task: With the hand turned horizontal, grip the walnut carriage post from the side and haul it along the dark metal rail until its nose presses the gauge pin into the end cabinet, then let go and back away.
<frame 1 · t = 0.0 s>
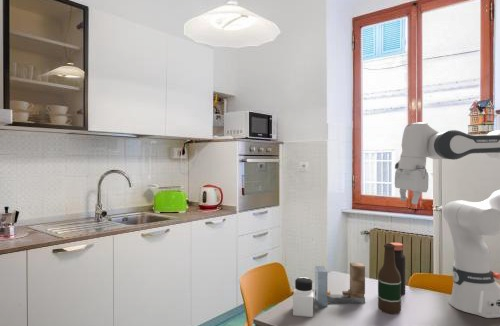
hand: (408, 202, 126), 39 cm above the table, tool pointing down, fingers open, 8 cm apart
rail and cabinet: (344, 301, 131), on the table
carriage: (353, 279, 131), point 8 cm above the table, slide at -5.0 cm
gauge pin: (323, 293, 131), point 3 cm above the table, slide at 0.0 cm
beer bottle: (389, 310, 123), on the table
medicine bottle: (303, 312, 121), on the table
vinegar: (396, 292, 140), on the table
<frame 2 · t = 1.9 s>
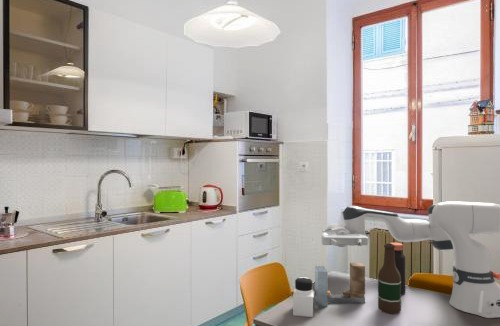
hand: (348, 243, 143), 19 cm above the table, tool horizontal, fingers open, 8 cm apart
nothing on the table moved.
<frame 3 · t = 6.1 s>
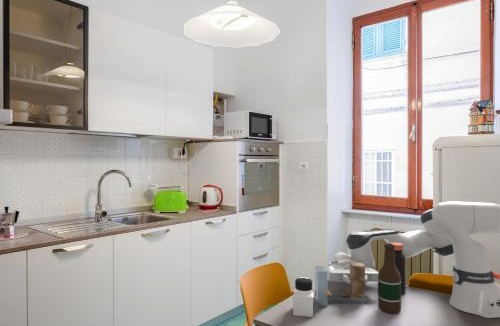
hand: (358, 281, 130), 8 cm above the table, tool horizontal, fingers closed on carriage, 4 cm apart
carriage: (353, 279, 131), point 8 cm above the table, slide at -5.0 cm, touching gripper
everything else where it was.
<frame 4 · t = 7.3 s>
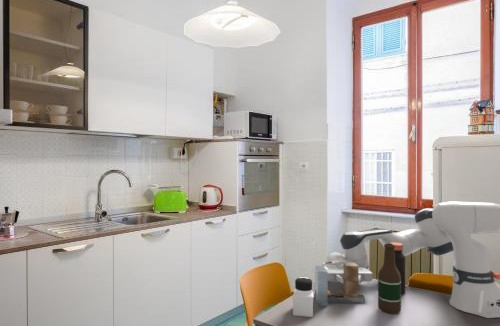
hand: (351, 281, 130), 8 cm above the table, tool horizontal, fingers closed on carriage, 4 cm apart
carriage: (346, 279, 131), point 8 cm above the table, slide at -2.5 cm, touching gripper
everything else where it was.
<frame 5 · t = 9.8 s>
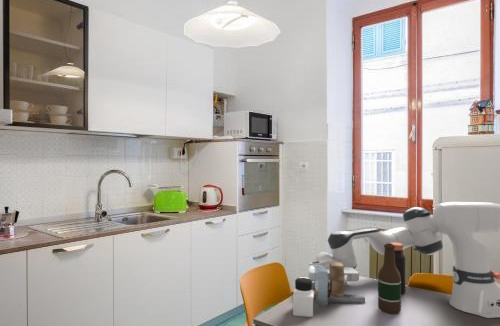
hand: (337, 281, 130), 8 cm above the table, tool horizontal, fingers open, 5 cm apart
carriage: (332, 279, 131), point 8 cm above the table, slide at 3.0 cm, touching gauge pin
gauge pin: (315, 292, 131), point 3 cm above the table, slide at 3.0 cm, touching carriage
everything else where it was.
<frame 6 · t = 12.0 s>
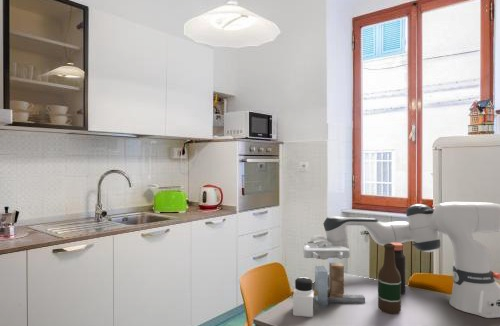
hand: (329, 257, 142), 14 cm above the table, tool horizontal, fingers open, 8 cm apart
nothing on the table moved.
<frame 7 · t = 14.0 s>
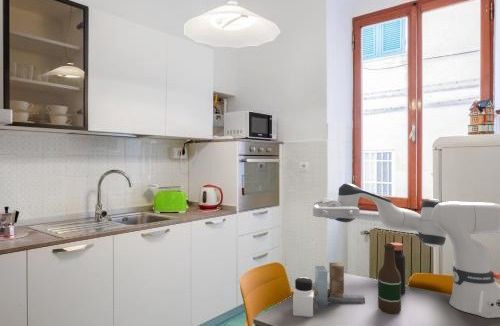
hand: (339, 214, 143), 32 cm above the table, tool horizontal, fingers open, 8 cm apart
nothing on the table moved.
at the end: carriage slide at 3.0 cm; gauge pin slide at 3.0 cm; the gripper is holding nothing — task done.
